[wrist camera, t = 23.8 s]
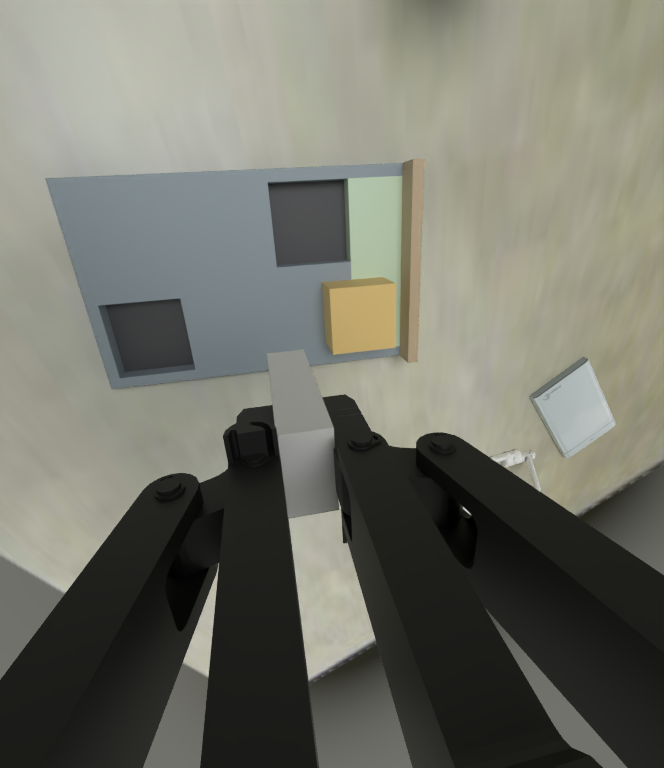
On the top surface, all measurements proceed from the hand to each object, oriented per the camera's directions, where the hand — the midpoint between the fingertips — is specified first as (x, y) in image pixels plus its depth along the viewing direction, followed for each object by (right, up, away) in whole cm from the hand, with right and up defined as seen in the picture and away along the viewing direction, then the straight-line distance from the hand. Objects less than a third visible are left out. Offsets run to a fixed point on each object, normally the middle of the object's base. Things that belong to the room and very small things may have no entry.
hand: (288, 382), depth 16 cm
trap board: (-6, +10, +21) cm, 24 cm away
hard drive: (+34, -3, +36) cm, 50 cm away
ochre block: (+4, +7, +22) cm, 24 cm away
